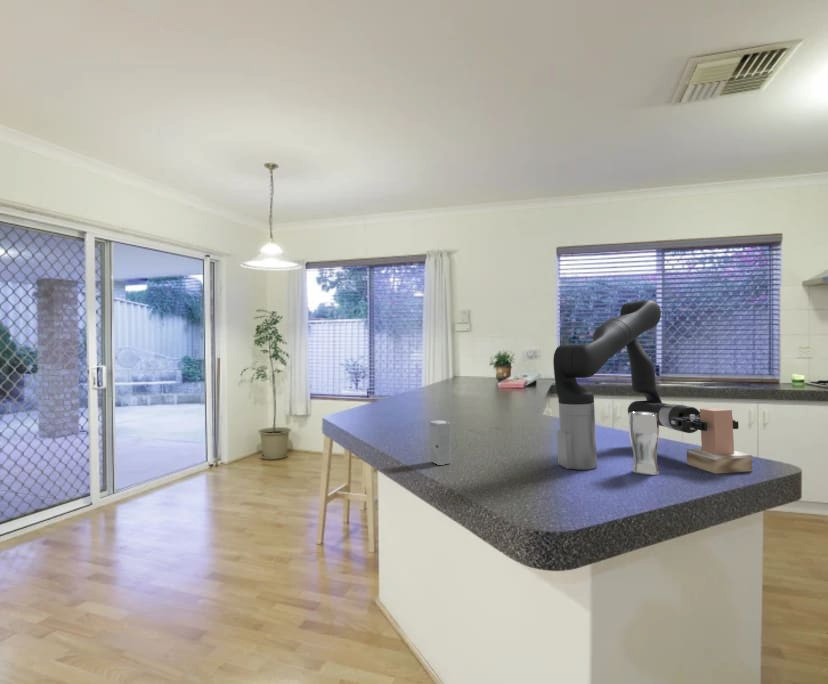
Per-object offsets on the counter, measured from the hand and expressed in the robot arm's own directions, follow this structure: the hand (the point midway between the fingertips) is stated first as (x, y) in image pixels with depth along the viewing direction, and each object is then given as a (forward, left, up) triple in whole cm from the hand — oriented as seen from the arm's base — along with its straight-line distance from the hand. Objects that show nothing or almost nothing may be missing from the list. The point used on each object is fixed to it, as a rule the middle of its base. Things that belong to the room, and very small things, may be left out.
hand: (721, 425), depth 119 cm
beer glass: (-20, +2, -11) cm, 23 cm away
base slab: (0, +2, -11) cm, 11 cm away
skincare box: (-69, +25, -11) cm, 74 cm away
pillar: (0, +2, -7) cm, 7 cm away
